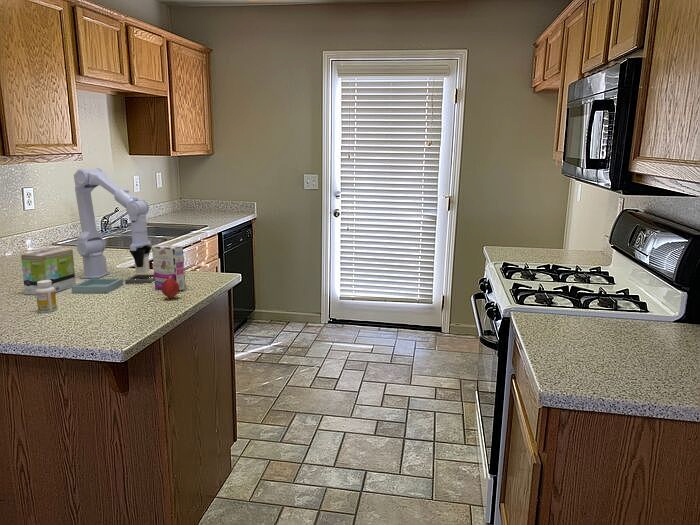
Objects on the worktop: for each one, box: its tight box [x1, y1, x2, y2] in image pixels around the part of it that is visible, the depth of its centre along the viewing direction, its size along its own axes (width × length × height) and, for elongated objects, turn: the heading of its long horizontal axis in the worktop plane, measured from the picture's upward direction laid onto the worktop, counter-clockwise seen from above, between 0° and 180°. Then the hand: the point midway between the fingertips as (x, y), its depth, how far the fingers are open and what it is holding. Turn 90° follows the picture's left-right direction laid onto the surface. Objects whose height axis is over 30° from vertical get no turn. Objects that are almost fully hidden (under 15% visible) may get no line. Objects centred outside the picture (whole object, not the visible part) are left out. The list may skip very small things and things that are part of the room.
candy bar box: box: [151, 244, 187, 292], centre depth 201 cm, size 11×5×16 cm, turn 62°
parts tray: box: [70, 278, 124, 294], centre depth 204 cm, size 13×13×2 cm
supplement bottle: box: [35, 280, 58, 314], centre depth 175 cm, size 5×5×10 cm
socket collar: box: [125, 274, 155, 285], centre depth 216 cm, size 10×10×2 cm
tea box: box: [20, 248, 77, 296], centre depth 201 cm, size 15×10×15 cm
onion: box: [161, 276, 180, 300], centre depth 189 cm, size 6×6×8 cm
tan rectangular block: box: [134, 254, 151, 274], centre depth 215 cm, size 4×4×7 cm
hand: (142, 265), depth 215 cm, fingers closed on tan rectangular block, 4 cm apart
